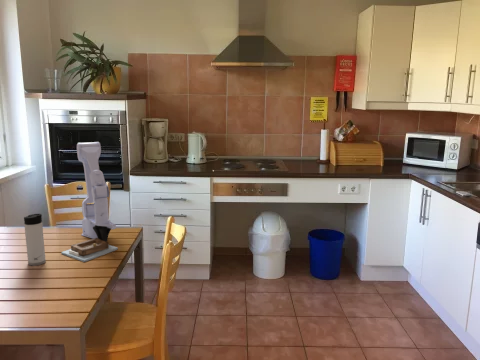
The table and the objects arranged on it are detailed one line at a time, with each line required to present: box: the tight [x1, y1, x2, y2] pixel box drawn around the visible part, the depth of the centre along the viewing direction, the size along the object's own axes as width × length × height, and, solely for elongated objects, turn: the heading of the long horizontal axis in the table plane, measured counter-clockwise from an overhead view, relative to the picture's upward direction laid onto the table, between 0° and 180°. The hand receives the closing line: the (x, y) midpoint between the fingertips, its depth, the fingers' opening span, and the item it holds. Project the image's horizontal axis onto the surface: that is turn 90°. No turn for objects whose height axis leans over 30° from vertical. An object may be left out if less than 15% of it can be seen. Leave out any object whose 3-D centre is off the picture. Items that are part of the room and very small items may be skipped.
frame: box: [70, 238, 109, 256], centre depth 177 cm, size 9×12×3 cm
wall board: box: [61, 244, 119, 263], centre depth 177 cm, size 15×17×2 cm
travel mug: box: [23, 213, 47, 267], centre depth 163 cm, size 6×7×20 cm
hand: (103, 241), depth 184 cm, fingers closed
